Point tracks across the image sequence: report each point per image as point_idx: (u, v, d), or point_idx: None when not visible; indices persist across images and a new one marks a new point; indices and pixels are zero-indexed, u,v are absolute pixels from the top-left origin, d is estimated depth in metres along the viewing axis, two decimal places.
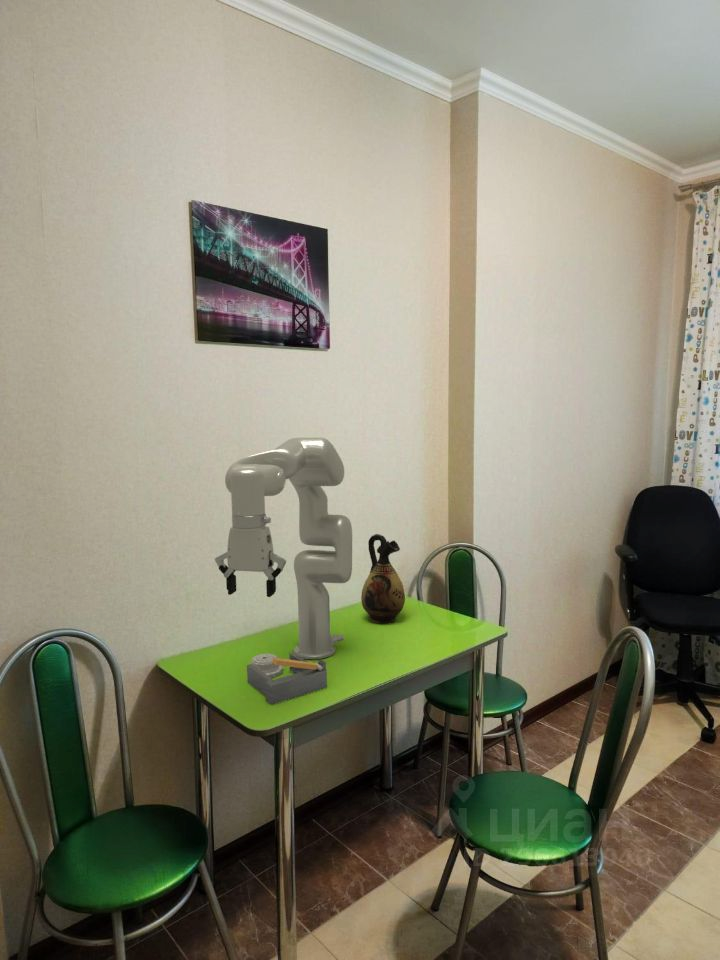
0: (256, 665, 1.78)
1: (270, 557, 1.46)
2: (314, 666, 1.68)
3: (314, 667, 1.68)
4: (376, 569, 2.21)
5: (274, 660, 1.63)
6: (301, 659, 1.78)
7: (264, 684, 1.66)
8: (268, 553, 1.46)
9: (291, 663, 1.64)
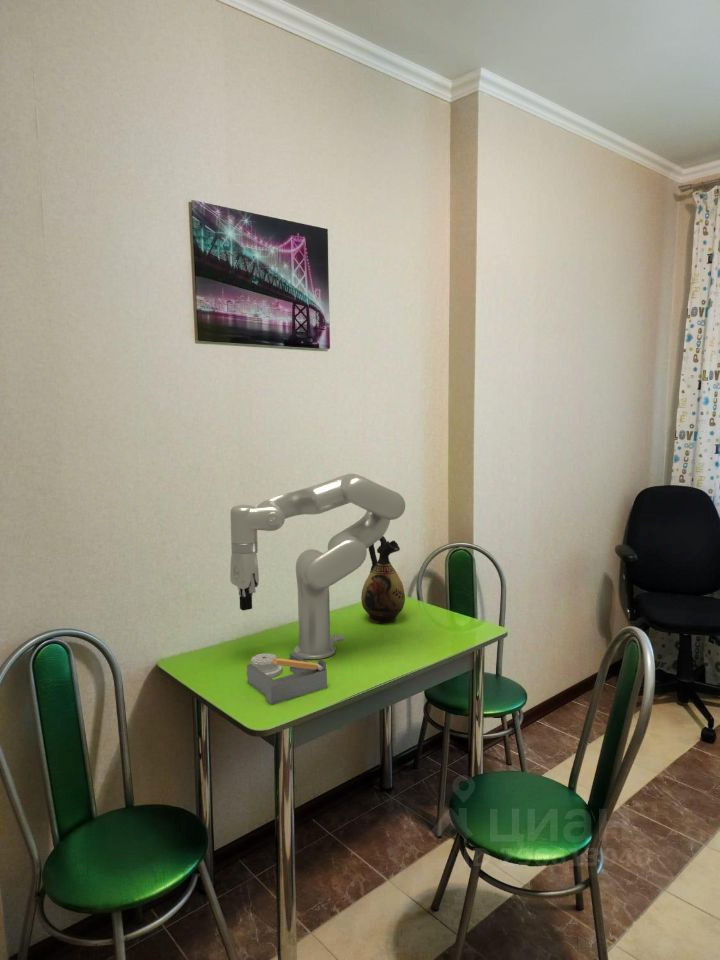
0: (255, 665, 1.78)
1: None
2: (314, 666, 1.68)
3: (314, 667, 1.68)
4: (376, 569, 2.21)
5: (274, 660, 1.63)
6: (301, 659, 1.78)
7: (264, 684, 1.66)
8: None
9: (291, 663, 1.64)
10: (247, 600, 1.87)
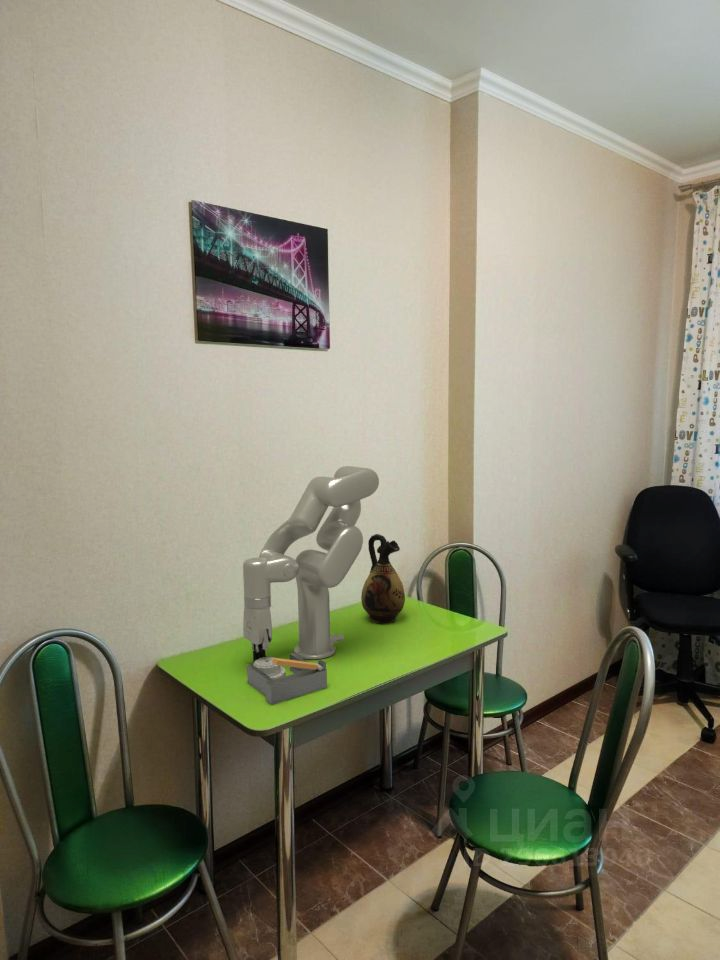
0: (258, 668, 1.76)
1: None
2: (314, 666, 1.68)
3: (314, 667, 1.68)
4: (376, 569, 2.21)
5: (274, 660, 1.63)
6: (301, 659, 1.78)
7: (264, 684, 1.66)
8: None
9: (291, 663, 1.64)
10: (260, 655, 1.82)
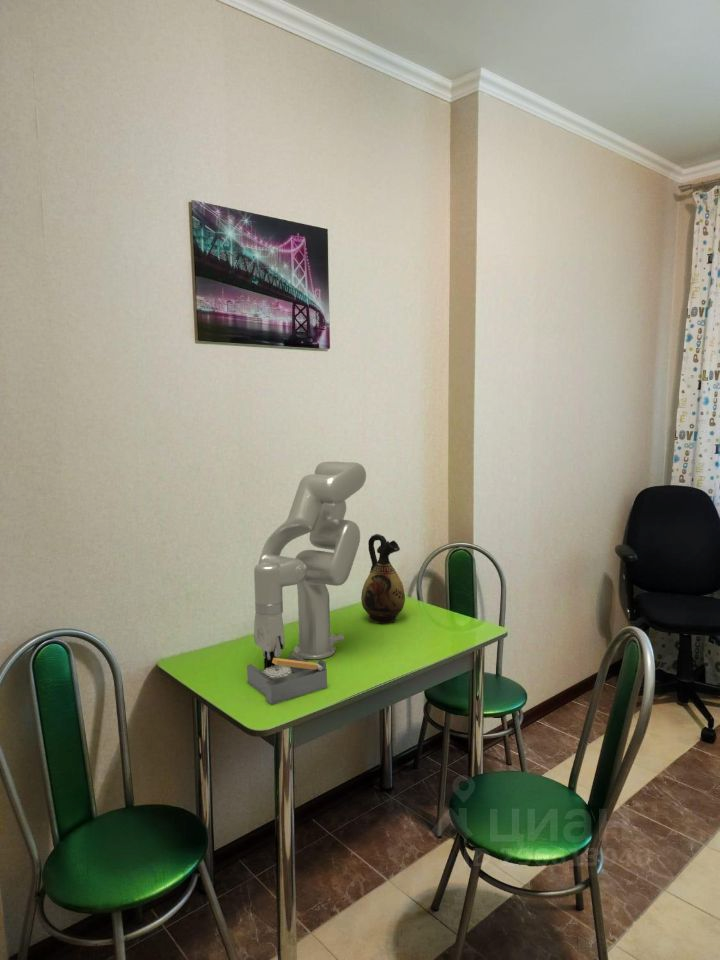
0: None
1: None
2: (314, 666, 1.68)
3: (314, 667, 1.68)
4: (376, 569, 2.21)
5: (274, 660, 1.63)
6: (301, 659, 1.78)
7: (264, 684, 1.66)
8: None
9: (291, 663, 1.64)
10: None
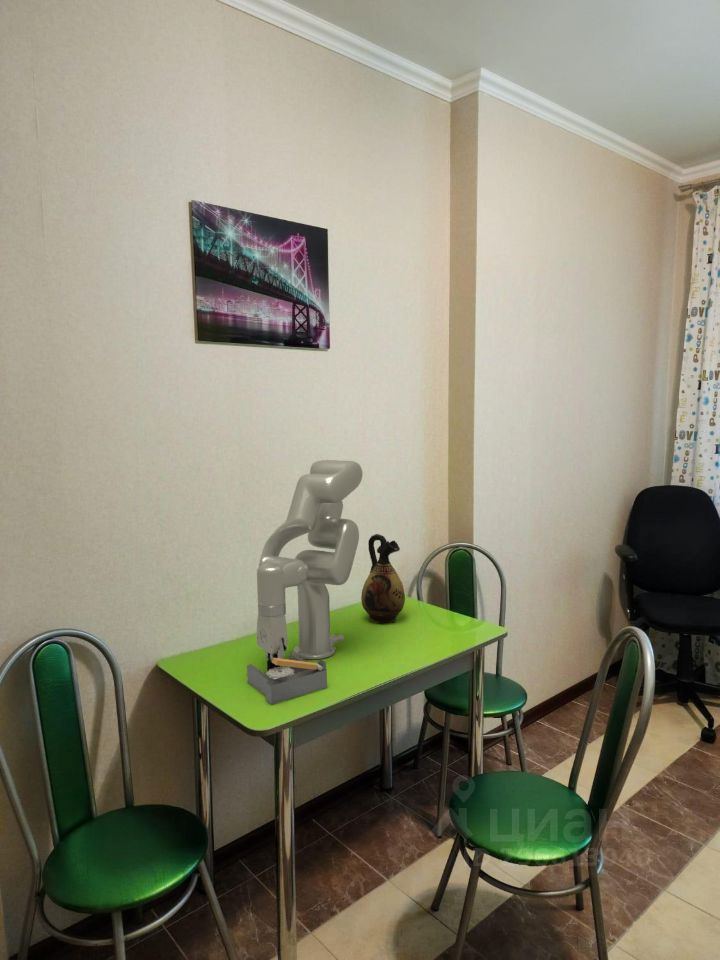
0: None
1: None
2: (314, 666, 1.68)
3: (314, 667, 1.68)
4: (376, 569, 2.21)
5: (274, 660, 1.63)
6: (301, 659, 1.78)
7: (264, 684, 1.66)
8: None
9: (291, 663, 1.64)
10: None
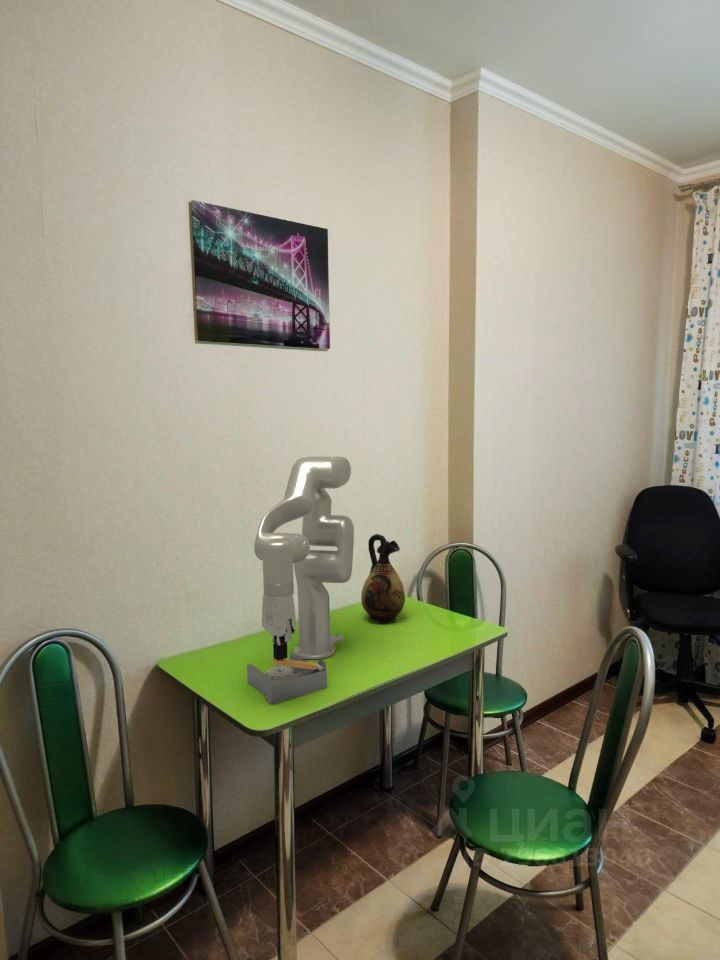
0: None
1: None
2: (314, 666, 1.68)
3: (314, 667, 1.68)
4: (376, 569, 2.21)
5: (274, 660, 1.63)
6: (301, 659, 1.78)
7: (264, 684, 1.66)
8: None
9: (291, 663, 1.64)
10: (282, 648, 1.62)
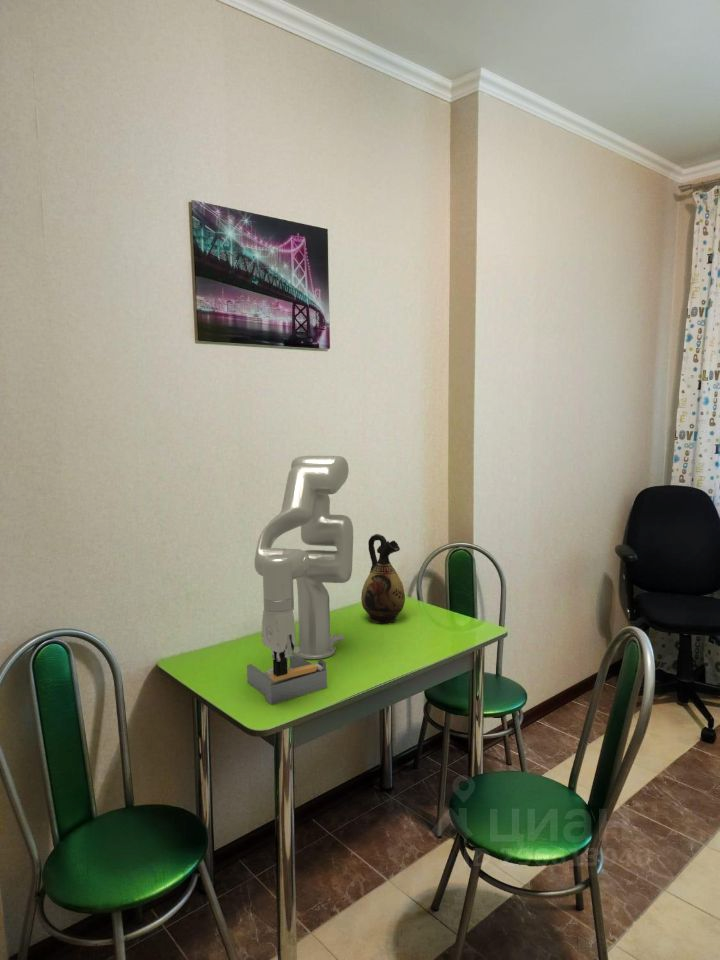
0: None
1: None
2: (313, 668, 1.68)
3: (314, 669, 1.68)
4: (376, 569, 2.21)
5: (271, 676, 1.63)
6: (301, 659, 1.78)
7: (264, 684, 1.66)
8: None
9: (289, 674, 1.64)
10: (281, 664, 1.62)
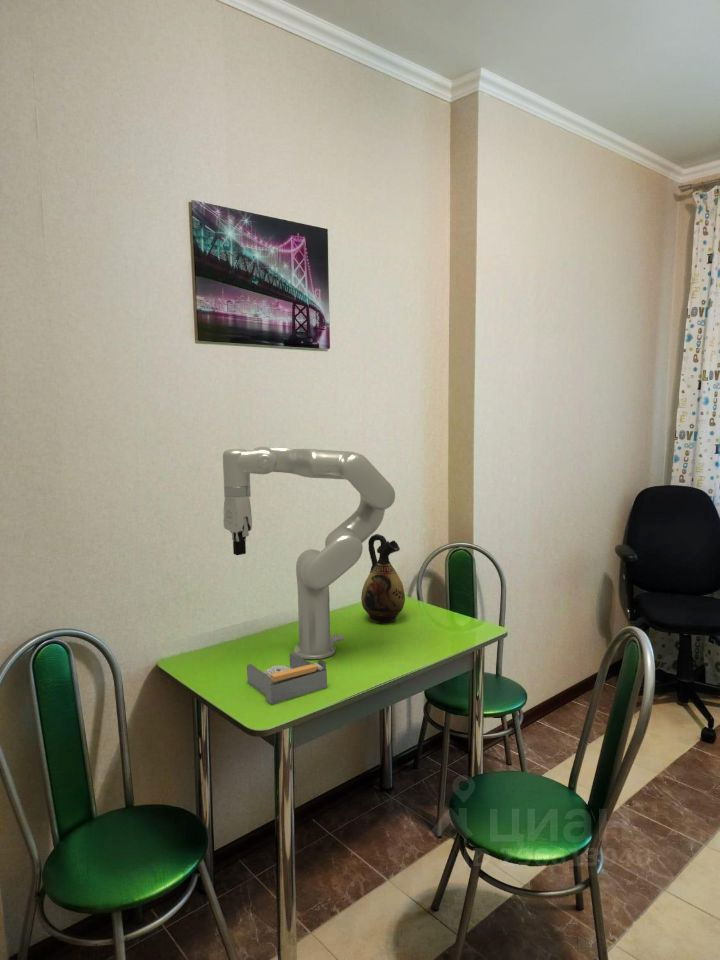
0: None
1: None
2: (313, 668, 1.68)
3: (314, 669, 1.68)
4: (376, 569, 2.21)
5: (271, 677, 1.63)
6: (301, 659, 1.78)
7: (264, 684, 1.66)
8: None
9: (289, 674, 1.64)
10: (240, 544, 1.86)
